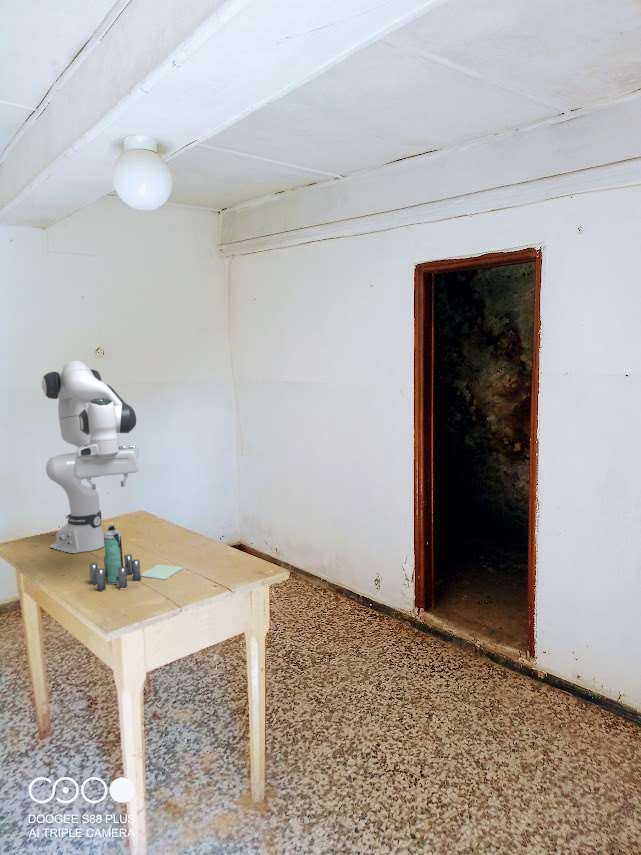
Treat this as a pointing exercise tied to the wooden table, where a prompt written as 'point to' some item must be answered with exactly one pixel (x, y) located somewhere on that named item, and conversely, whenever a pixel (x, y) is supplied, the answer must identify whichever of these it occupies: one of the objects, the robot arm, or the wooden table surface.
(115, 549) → the spray can
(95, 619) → the wooden table surface
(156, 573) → the mat
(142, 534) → the wooden table surface
